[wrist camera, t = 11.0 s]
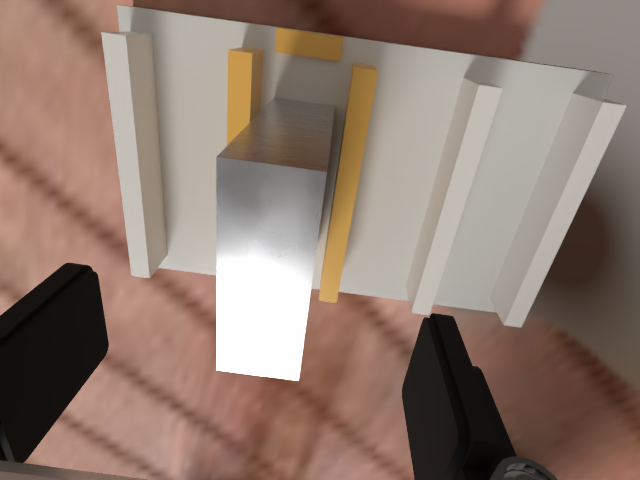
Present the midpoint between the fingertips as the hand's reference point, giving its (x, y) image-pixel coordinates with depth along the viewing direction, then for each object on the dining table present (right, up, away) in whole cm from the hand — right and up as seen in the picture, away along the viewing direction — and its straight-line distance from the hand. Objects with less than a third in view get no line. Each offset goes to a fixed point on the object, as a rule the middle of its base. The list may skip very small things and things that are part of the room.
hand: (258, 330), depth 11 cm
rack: (+3, +6, +11) cm, 13 cm away
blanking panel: (0, +6, +10) cm, 12 cm away
